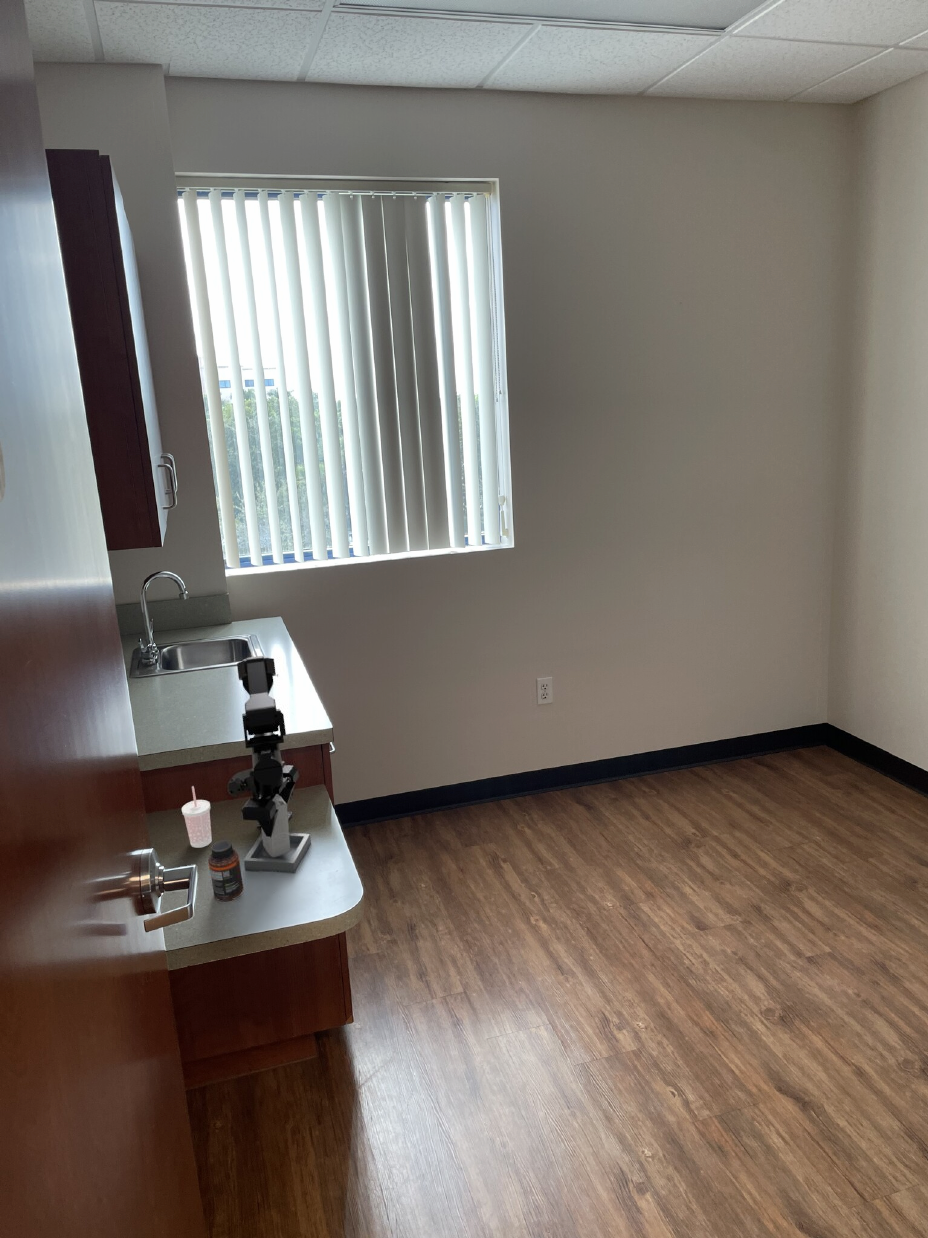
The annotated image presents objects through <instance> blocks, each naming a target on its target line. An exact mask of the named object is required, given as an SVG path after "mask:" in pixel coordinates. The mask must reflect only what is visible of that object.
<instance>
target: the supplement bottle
mask: <svg viewBox="0 0 928 1238" xmlns="http://www.w3.org/2000/svg"><path fill="white" fill-rule="evenodd" d="M210 849H211V853H210V855H209V857H208V867H209V874H210V881H211V886H212V893H213V895H214V898H215V899H216V900H218V901H223V902H224V901H225V902H226V901H227V902H229V901H232V900H234V899H237V898H238V897H240V896H241V894H242V893H243V892H244V883H243V876H242V869H241V868H242V867H241V863H240V862H241V861H240V856H239V853H238V851H237V850H236V849H234V848H233V845H232V842H231V841H230V840H227V839H222V840H218V841H216V842H214V843H213V844H212V845H211V847H210Z"/></svg>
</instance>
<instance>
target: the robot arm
mask: <svg viewBox="0 0 928 1238" xmlns="http://www.w3.org/2000/svg"><path fill="white" fill-rule="evenodd" d="M236 666H237V667H236V668H237V677H238V680H239V681H242V687H243V690H244V691H246V693H247V694H248V695H249V698H248V700H247V701H246V702H245V703H244V711H245V713H242V714H241V715H242V727H243V736H244V743H245V749H250V750H251V757H252V758H251V759H252V761H251V762H252V768H249V769H246V770H243V771H240V772H237V773H235V774H234V775H233V776H232V777H231V778H230V780H229V781H228V783H227V785H226V787H227V791H226V792H227V793H228V794H229V795H230V796H233V797H238V796H239V795H242V794H244V793H248V792H250V794H251V795H252V797H250V798H249V799H248V800H247V801H246V803H244V805H243V806H242V807H241V809H240V815H241V819H242V820H243V821H257V824H256V826H257V828H261V830H262V829H263V831H264V833H265V835H266V836H267V837H271V836H272V833H273V830H274V826H275V822H276V818H277V814H278V809H276V803H275V802H274V801H273V800H274V799H275V797H276V796H277V794H278V795H279V796H281V797H282V799H283V800H284V801H285V803H286V804H287V807H288V805H289V802H290V800H291V797H292V796H293V795H294V788H295V786H296V783H297V780H298V779H299V777H300V775H299V768H297V767H296V766H295V765H289V764H288V765H287V764H286V762H285V761H286V760H282V756H281V755H282V754H281V749H280V748H281V747H280V744H283V743H285V741H284V740H285V739H284V737H285V736H287V733H286V732H287V731H286V730H287V729H286V723H285V717H284V713H283V712H282V710H281V709H280V708H277V706H276V699H275V698H273V697H272V696H270V692H271V691H272V689H273V685H274V677H275V676H277V674H276V673H277V672H276V665H275V659H274V658H271V657H269V656H264V655H259V656H251V657H246V658H244V659H242V660H241V661H239V662H237V663H236ZM276 732H279V734H278V733H277V734H276ZM248 736H253V737H248ZM248 739H249V740H248ZM260 797H261V798H260ZM259 798H260V799H259ZM287 814H288V821H290V819H291V817H292V816H293V812H292V811H287Z"/></svg>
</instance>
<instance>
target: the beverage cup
mask: <svg viewBox="0 0 928 1238" xmlns="http://www.w3.org/2000/svg"><path fill="white" fill-rule="evenodd" d="M191 791H192V792H191V793H192V797H193V798H192V799H193V800H191V801H189V802H187V803H185V804H184V805H183V806H182V807H181V812H182V816H183V817H184V821H185V825H186V829H187V833H188V834H187V835H188V839H189V843H190V846H191V847H192V848H204V847H207V846H209V845H210V844H211V843H212V841H213V840H212V827H211V826H212V825H211V824H212V823H211V813H210V810H211V802H210V801H208V800H206V799H205V800H204V799H197V798H196V792H195V787H194V785H192V786H191Z"/></svg>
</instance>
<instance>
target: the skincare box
mask: <svg viewBox="0 0 928 1238" xmlns="http://www.w3.org/2000/svg"><path fill="white" fill-rule="evenodd" d="M260 798H261V797H260ZM260 798H259V799H260ZM273 801H274V802H275V803H276V809H278V814H277V818H276V822H275V826H274V830H273V833H272V836H271V837H267V836H266V835H265V833H264V831H263V829H262V828H261V834H262V839H263V846H264V848H265V849H266V850H267V852H268V853H269V854H270V856H271V857H273V858H274V857H277V856H280V855H283V854H286V853H288V852H290V839H289V833H290V829H289V827H290V826H289V820H288V814H287V812H288V806H287V804H286V803H285V801H284V800H283V799H282V797H281V796H279V795H278V794H277V796H276V797H275V799H274V800H273Z"/></svg>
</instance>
